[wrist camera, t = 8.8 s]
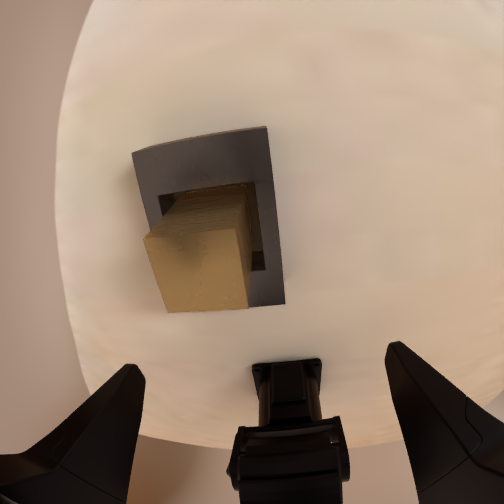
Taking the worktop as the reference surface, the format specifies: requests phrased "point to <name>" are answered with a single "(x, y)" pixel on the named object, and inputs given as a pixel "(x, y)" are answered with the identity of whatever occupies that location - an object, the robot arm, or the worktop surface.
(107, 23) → the worktop surface
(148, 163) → the steel rail
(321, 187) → the worktop surface
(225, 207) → the brass block
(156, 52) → the worktop surface
